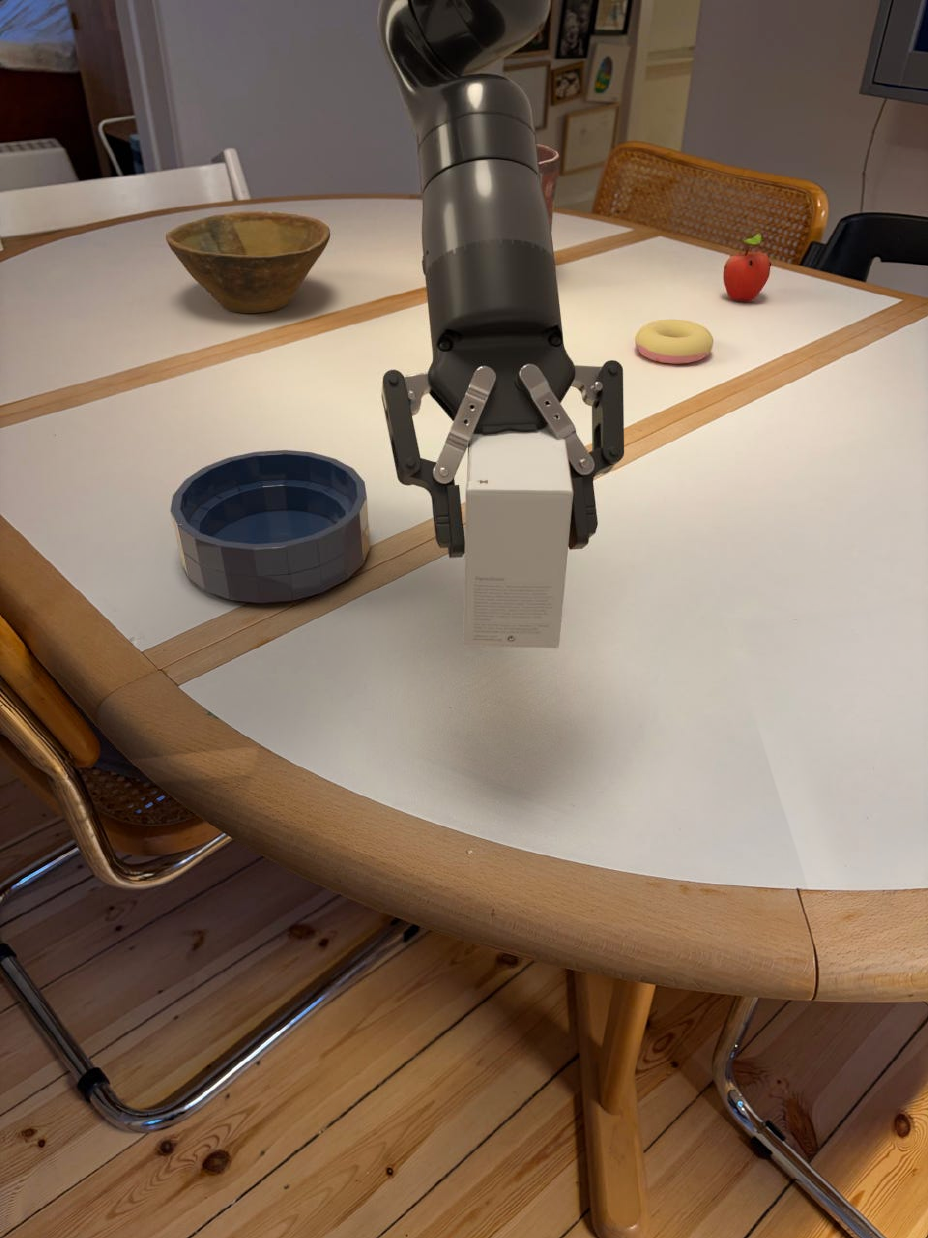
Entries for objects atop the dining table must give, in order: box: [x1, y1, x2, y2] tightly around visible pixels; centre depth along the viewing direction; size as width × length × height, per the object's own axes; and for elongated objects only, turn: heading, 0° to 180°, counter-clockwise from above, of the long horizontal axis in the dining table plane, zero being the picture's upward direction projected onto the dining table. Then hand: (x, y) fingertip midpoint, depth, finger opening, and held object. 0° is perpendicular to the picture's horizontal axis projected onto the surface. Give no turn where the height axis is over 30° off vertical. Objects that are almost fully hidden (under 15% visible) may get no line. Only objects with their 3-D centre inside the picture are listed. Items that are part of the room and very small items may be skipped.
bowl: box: [165, 211, 331, 314], centre depth 132 cm, size 22×23×10 cm
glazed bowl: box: [169, 449, 371, 604], centre depth 83 cm, size 17×17×6 cm
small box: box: [463, 426, 574, 649], centre depth 53 cm, size 8×6×10 cm
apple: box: [722, 233, 772, 303], centre depth 135 cm, size 8×7×10 cm
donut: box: [634, 319, 714, 365], centre depth 121 cm, size 10×5×9 cm
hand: (519, 550), depth 52 cm, fingers closed on small box, 6 cm apart
